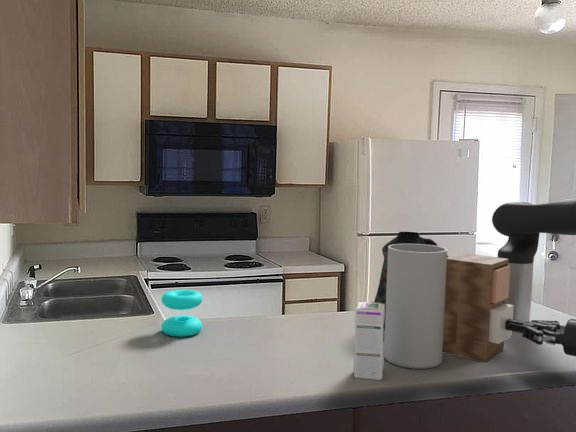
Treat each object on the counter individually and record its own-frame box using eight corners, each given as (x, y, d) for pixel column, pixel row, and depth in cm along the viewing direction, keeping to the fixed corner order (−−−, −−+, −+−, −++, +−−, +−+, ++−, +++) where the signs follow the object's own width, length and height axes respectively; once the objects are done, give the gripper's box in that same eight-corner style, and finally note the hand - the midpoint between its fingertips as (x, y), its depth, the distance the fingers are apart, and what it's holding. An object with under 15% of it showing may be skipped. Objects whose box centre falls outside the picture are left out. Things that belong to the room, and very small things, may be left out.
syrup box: (382, 380, 116) (385, 309, 115) (352, 377, 117) (355, 307, 116) (383, 370, 122) (386, 302, 120) (355, 368, 123) (357, 300, 121)
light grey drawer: (511, 335, 133) (513, 305, 132) (499, 343, 127) (500, 311, 126) (485, 330, 137) (486, 300, 136) (471, 337, 131) (473, 306, 130)
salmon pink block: (508, 297, 133) (510, 266, 132) (495, 303, 127) (497, 270, 126) (481, 292, 137) (483, 262, 136) (467, 298, 131) (469, 266, 130)
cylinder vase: (451, 368, 124) (457, 252, 121) (395, 371, 122) (400, 252, 119) (427, 349, 136) (432, 243, 133) (376, 351, 134) (380, 243, 131)
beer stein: (358, 319, 160) (361, 229, 158) (417, 313, 168) (421, 227, 165) (391, 337, 145) (395, 237, 143) (454, 329, 152) (459, 235, 150)
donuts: (155, 291, 146) (192, 286, 151) (155, 330, 147) (191, 324, 152) (171, 299, 137) (209, 294, 143) (171, 340, 138) (209, 334, 144)
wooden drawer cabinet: (503, 351, 136) (508, 258, 134) (485, 362, 128) (491, 264, 126) (458, 340, 143) (463, 253, 141) (439, 351, 135) (443, 258, 133)
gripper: (600, 316, 123) (517, 302, 134) (585, 329, 113) (496, 313, 124) (598, 351, 124) (515, 334, 135) (582, 367, 114) (494, 347, 125)
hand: (506, 324), depth 130 cm, fingers closed
